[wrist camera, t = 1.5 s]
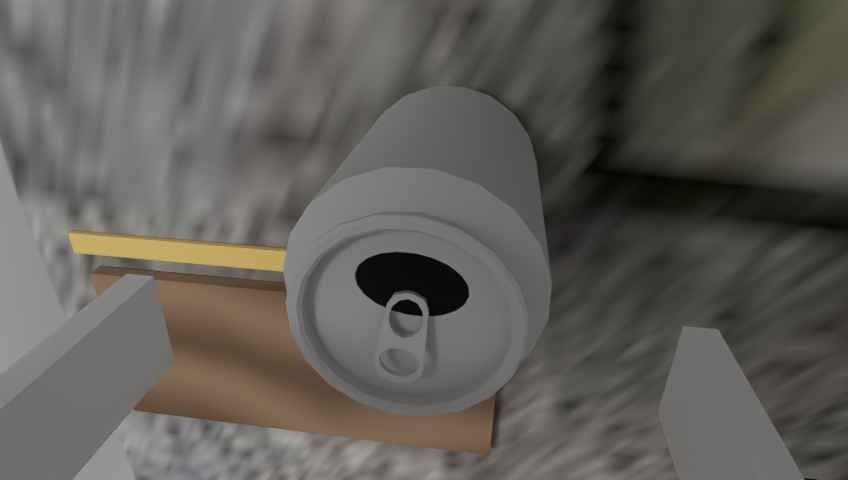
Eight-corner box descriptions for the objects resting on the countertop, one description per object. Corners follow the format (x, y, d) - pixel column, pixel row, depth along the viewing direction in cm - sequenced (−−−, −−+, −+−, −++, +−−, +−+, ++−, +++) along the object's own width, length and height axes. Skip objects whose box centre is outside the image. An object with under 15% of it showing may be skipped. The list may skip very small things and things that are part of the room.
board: (99, 265, 29) (89, 273, 29) (504, 303, 27) (504, 312, 26) (142, 401, 34) (134, 410, 33) (489, 444, 31) (489, 455, 31)
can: (554, 96, 22) (595, 227, 11) (515, 253, 25) (519, 464, 15) (374, 67, 22) (253, 166, 12) (361, 225, 26) (260, 410, 15)
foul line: (71, 230, 28) (67, 232, 28) (529, 269, 26) (529, 272, 25) (78, 250, 29) (74, 252, 29) (526, 290, 26) (527, 293, 26)
